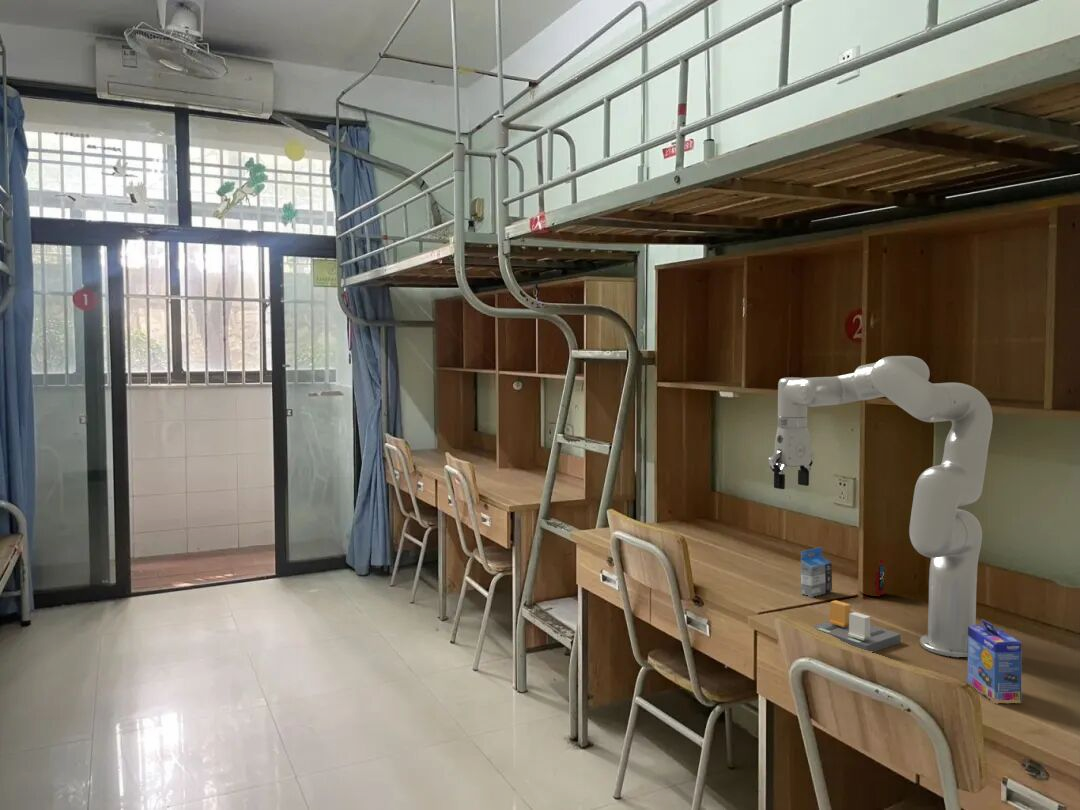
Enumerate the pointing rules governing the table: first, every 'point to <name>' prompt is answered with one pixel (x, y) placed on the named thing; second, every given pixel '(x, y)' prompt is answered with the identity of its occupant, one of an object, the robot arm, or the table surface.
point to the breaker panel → (875, 643)
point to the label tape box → (815, 573)
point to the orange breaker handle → (839, 613)
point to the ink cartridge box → (994, 662)
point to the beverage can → (879, 580)
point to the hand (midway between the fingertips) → (791, 486)
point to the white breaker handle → (859, 626)
